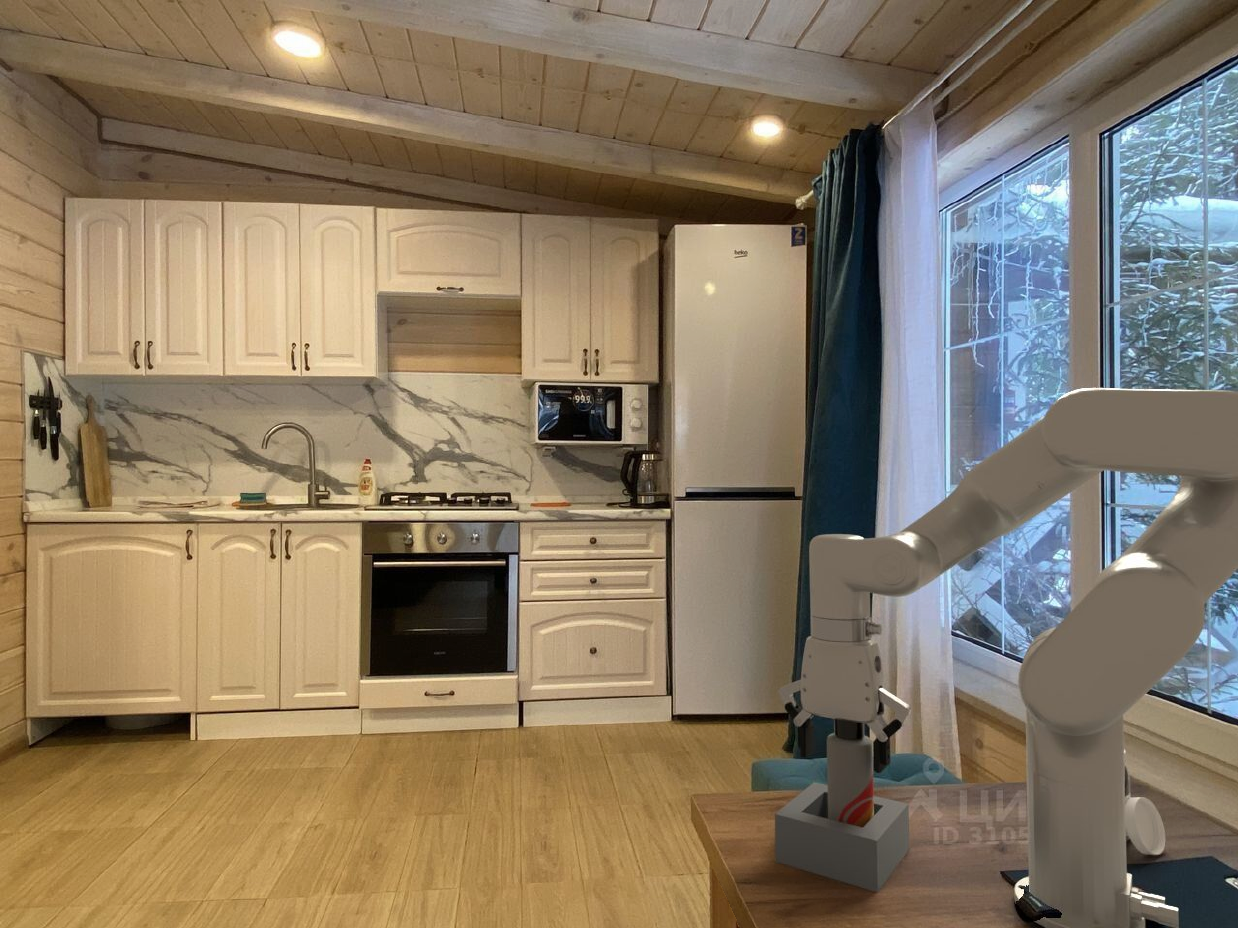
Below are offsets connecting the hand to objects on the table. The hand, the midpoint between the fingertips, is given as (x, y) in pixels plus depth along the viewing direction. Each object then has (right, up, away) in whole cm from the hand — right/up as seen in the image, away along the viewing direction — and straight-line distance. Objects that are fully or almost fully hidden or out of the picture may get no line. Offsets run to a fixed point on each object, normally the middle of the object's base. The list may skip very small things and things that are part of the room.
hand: (843, 761), depth 101 cm
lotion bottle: (+1, -12, 0) cm, 12 cm away
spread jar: (+38, -12, +4) cm, 40 cm away
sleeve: (0, -12, 0) cm, 12 cm away
